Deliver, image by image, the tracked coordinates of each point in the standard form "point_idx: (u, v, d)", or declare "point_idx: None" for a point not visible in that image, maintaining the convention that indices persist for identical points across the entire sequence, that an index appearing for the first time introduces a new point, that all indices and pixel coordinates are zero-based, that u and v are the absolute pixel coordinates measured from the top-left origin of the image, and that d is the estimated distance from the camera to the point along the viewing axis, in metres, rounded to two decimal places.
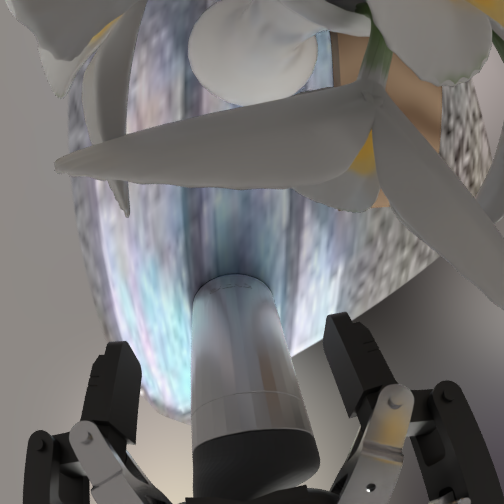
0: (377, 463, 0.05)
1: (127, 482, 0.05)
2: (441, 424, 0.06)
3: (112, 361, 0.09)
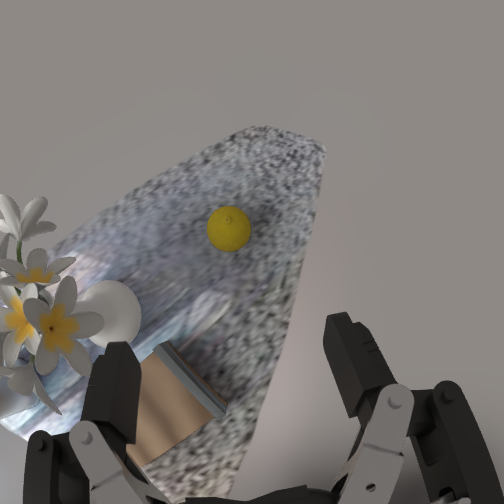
0: (377, 463, 0.05)
1: (127, 482, 0.05)
2: (441, 424, 0.06)
3: (112, 361, 0.09)
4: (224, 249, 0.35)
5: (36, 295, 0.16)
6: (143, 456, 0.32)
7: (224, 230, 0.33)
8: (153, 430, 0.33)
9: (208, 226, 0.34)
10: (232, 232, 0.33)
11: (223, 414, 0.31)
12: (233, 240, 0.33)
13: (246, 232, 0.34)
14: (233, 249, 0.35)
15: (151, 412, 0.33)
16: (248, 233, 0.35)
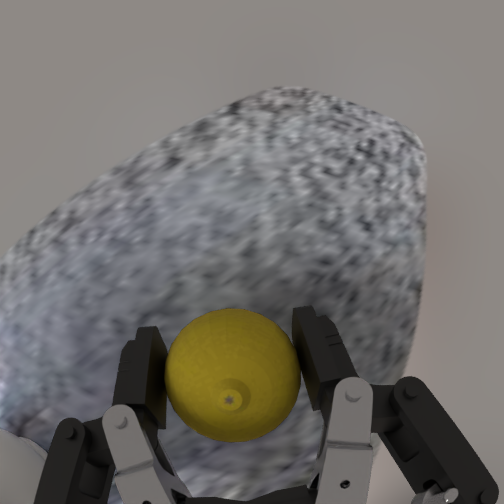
0: (346, 459, 0.05)
1: (156, 474, 0.05)
2: (401, 421, 0.06)
3: (144, 345, 0.10)
4: None
5: None
6: None
7: (219, 424, 0.08)
8: None
9: (165, 385, 0.09)
10: (249, 428, 0.08)
11: None
12: (252, 438, 0.08)
13: (292, 407, 0.09)
14: None
15: None
16: None
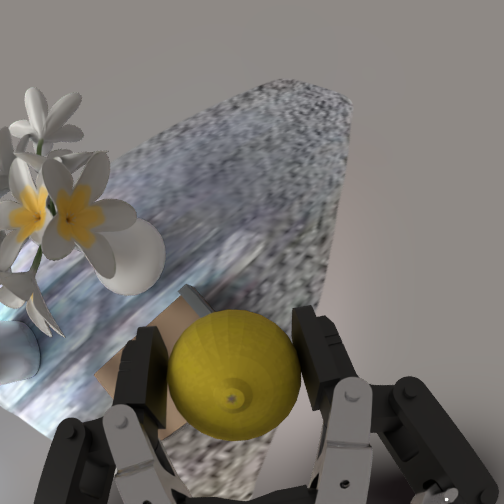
0: (345, 459, 0.05)
1: (156, 474, 0.05)
2: (401, 421, 0.06)
3: (144, 345, 0.10)
4: None
5: None
6: (158, 430, 0.29)
7: (222, 423, 0.08)
8: None
9: (168, 385, 0.10)
10: (251, 427, 0.08)
11: None
12: (254, 437, 0.09)
13: (292, 406, 0.09)
14: None
15: None
16: None
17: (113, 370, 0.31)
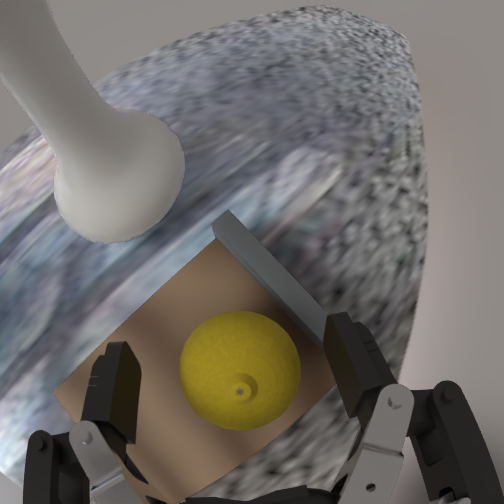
0: (377, 463, 0.05)
1: (127, 482, 0.05)
2: (441, 424, 0.06)
3: (112, 361, 0.09)
4: None
5: None
6: (170, 489, 0.14)
7: (230, 414, 0.09)
8: (194, 435, 0.15)
9: (180, 381, 0.11)
10: (257, 416, 0.09)
11: None
12: (259, 426, 0.10)
13: (293, 398, 0.10)
14: None
15: None
16: (296, 390, 0.11)
17: (83, 387, 0.15)
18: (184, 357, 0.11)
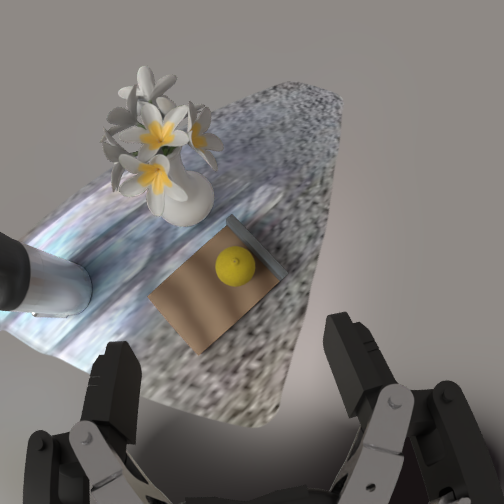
0: (377, 463, 0.05)
1: (127, 482, 0.05)
2: (441, 424, 0.06)
3: (112, 361, 0.09)
4: (232, 285, 0.39)
5: (186, 111, 0.26)
6: (202, 340, 0.41)
7: (232, 270, 0.36)
8: (216, 307, 0.43)
9: (216, 266, 0.38)
10: (239, 272, 0.37)
11: (286, 273, 0.41)
12: (240, 278, 0.37)
13: (251, 271, 0.38)
14: (240, 285, 0.39)
15: (216, 287, 0.43)
16: (253, 271, 0.39)
17: (166, 290, 0.43)
18: (218, 257, 0.38)
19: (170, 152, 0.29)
